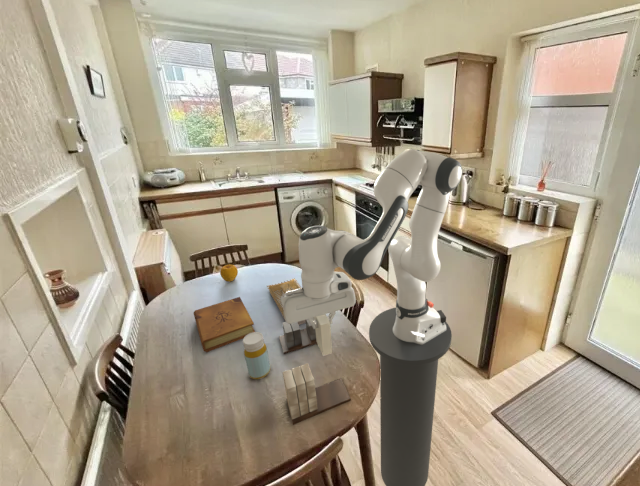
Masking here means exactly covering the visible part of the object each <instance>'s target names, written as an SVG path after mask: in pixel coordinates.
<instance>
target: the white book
mask: <svg viewBox="0 0 640 486" xmlns="http://www.w3.org/2000/svg"><path fill="white" fill-rule="evenodd" d="M327 317H328V316H327V314H324V315H320V316H317V317H314V320H317V322H318V328H316V329H315V331H316V341H317V344H316V345H317V346H318V349H319V350H320V352H321V355H322V356H323V357H325V356H327V355H331V354H333V346H332V345H333V344H332V343H333V341H332V332H331V331H332V329H331V324H330V321H329V320H328V318H327Z"/></svg>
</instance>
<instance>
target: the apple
mask: <svg viewBox="0 0 640 486" xmlns="http://www.w3.org/2000/svg"><path fill="white" fill-rule="evenodd" d="M238 271H239V270H238V267H236V265H234V264H230V263H229V264H225V265H224V266H222V267H220V271H219V274H220V275H219V276H220V277H221V278H222V280H223V281H225V282H227V283H231V282H233V281H234V280H236V278H237V277H238V273H239V272H238Z"/></svg>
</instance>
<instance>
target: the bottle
mask: <svg viewBox="0 0 640 486" xmlns="http://www.w3.org/2000/svg"><path fill="white" fill-rule="evenodd" d="M242 343H243V347H244V348H243V349H244V350H243V354H244V360H245V363H246V368H247V372H248V376H249V378H251V379H252V380H261V379H264V378H265V377H267V376H268V375H269V373H270V372H271V363H270V359H269V352H268V349H267V347H268V346H267V344H266V343H265V340H264V334H263V333H261V332H259V331H255V332H253V333H250V334H248V335H246V336H245V337H244V339H242Z"/></svg>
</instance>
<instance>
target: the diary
mask: <svg viewBox="0 0 640 486" xmlns="http://www.w3.org/2000/svg"><path fill="white" fill-rule="evenodd" d="M193 317H194V321H195V325H196V329H197V333H198V337H199V340H200V344H201V347H202V350H203V353H209V352H212V351H214V350H217V349H220V348H222V347H225V346H228V345H230V344H233V343H235V342H238V341H241V340H243V339H244V337H245V336H246V335H248V334H250V333H253V332H256V330H255V328H254V327H253V326H254V325H255V324H254V321H253V318H252V317H251V315H250V313H249V312H248V309H247V308H246V306H245V304H244V302H243V300H242V298H241V296H238V297H234V298H230V299H227V300H224V301H221V302H217V303H215V304H212V305H208V306H205V307H202V308H199V309H196V310H194V311H193Z"/></svg>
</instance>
